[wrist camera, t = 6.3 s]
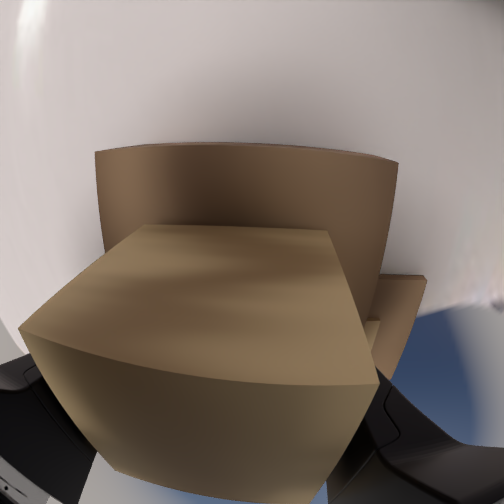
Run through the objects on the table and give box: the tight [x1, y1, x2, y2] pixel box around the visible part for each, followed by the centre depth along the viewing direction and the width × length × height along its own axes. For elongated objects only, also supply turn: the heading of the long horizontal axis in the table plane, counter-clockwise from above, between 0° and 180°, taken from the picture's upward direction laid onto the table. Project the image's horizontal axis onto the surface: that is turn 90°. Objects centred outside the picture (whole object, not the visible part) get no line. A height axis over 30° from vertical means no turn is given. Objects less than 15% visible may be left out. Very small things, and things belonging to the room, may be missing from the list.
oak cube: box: [18, 224, 380, 504], centre depth 7 cm, size 6×6×6 cm
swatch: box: [364, 274, 427, 380], centre depth 16 cm, size 8×8×1 cm
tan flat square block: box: [95, 142, 399, 329], centre depth 13 cm, size 11×11×4 cm
